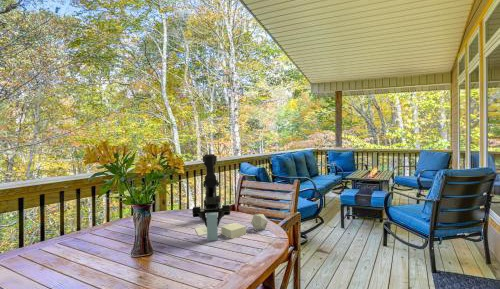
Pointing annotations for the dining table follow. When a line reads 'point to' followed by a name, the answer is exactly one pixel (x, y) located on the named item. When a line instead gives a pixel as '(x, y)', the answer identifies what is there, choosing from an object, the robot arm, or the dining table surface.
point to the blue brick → (212, 227)
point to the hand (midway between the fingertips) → (212, 226)
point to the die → (259, 222)
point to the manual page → (201, 230)
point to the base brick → (233, 230)
